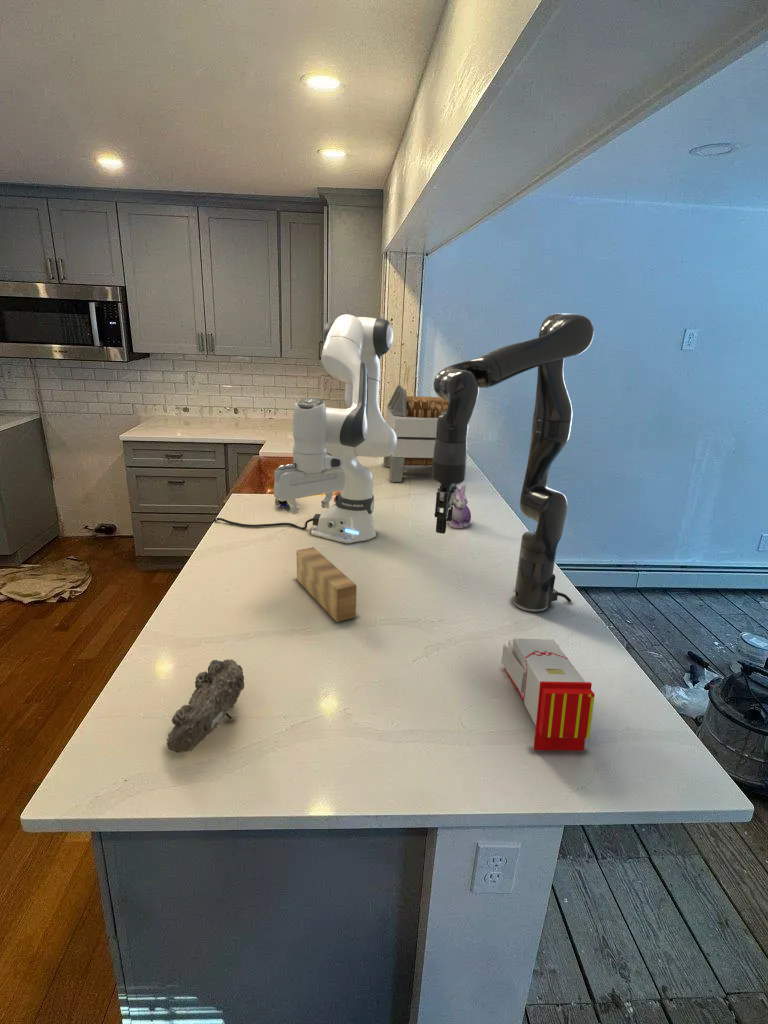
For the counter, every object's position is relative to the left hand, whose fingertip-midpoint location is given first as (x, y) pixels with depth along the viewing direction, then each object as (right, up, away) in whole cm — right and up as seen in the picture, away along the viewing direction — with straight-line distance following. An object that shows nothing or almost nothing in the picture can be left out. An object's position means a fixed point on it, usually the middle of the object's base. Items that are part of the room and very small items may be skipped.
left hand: (310, 510), depth 154 cm
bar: (+4, -24, 0) cm, 24 cm away
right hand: (+34, -4, -21) cm, 40 cm away
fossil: (-13, -40, -46) cm, 62 cm away
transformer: (+37, +18, +121) cm, 128 cm away
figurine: (+48, -5, +57) cm, 75 cm away
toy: (+52, -40, -38) cm, 75 cm away
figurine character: (-19, +2, +69) cm, 71 cm away
